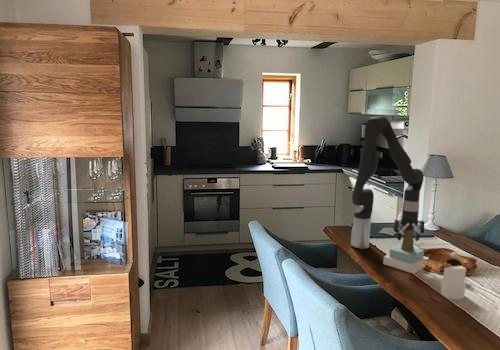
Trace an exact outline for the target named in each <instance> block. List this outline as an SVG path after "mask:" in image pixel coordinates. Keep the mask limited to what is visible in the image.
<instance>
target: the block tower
mask: <svg viewBox="0 0 500 350" xmlns="http://www.w3.org/2000/svg"><path fill="white" fill-rule="evenodd" d="M401 247H402V243H400V244H398V245H396V246H393V247H391V248H390V249H389V253H388V254H386V255H383V263H382V264H383V265H385V266H389V267H391V268H395V269H397V270H400V271H403V272H407V273H410V274H413V275H415V274H416V273H418V272H419V271H422V269H424V268H423V262H424V261H426V260H430V258H429V256H424V255H425V254H424V252H425V250H424V249H421V248H418V247H414V251H412V252H407V251H403V250H402V249H401Z"/></svg>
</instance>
